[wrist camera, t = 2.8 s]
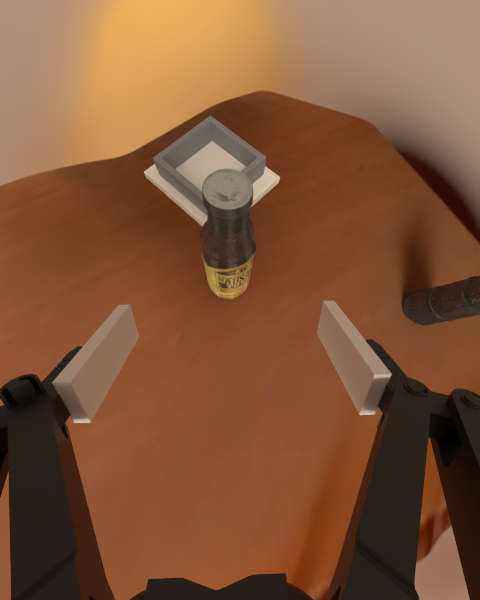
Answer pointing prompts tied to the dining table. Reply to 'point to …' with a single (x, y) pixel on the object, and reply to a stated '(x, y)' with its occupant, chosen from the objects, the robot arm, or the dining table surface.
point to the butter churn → (444, 302)
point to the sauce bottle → (228, 232)
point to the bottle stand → (207, 166)
